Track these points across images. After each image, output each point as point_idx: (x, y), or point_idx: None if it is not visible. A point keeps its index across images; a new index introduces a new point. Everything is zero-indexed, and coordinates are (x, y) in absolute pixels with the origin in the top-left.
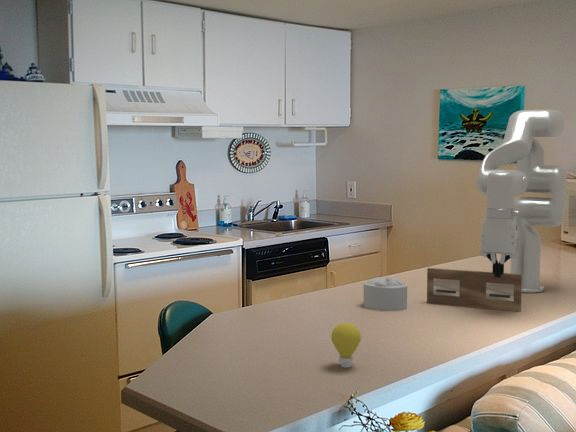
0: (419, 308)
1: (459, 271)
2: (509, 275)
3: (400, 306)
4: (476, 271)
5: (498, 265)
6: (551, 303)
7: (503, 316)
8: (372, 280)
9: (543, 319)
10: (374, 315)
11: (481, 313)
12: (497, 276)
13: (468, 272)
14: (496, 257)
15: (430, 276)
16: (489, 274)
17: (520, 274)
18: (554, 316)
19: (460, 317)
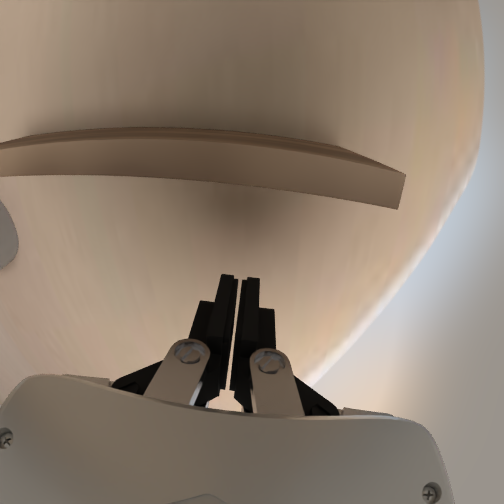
0: (33, 222)
1: (16, 174)
2: (318, 192)
3: (10, 259)
4: (83, 155)
5: (233, 388)
6: (438, 30)
7: (271, 249)
8: None
9: (392, 255)
10: (10, 305)
11: (195, 228)
12: (234, 316)
13: (51, 172)
14: (200, 385)
15: None
16: (171, 176)
17: (395, 184)
18: (430, 210)
19: (145, 291)
